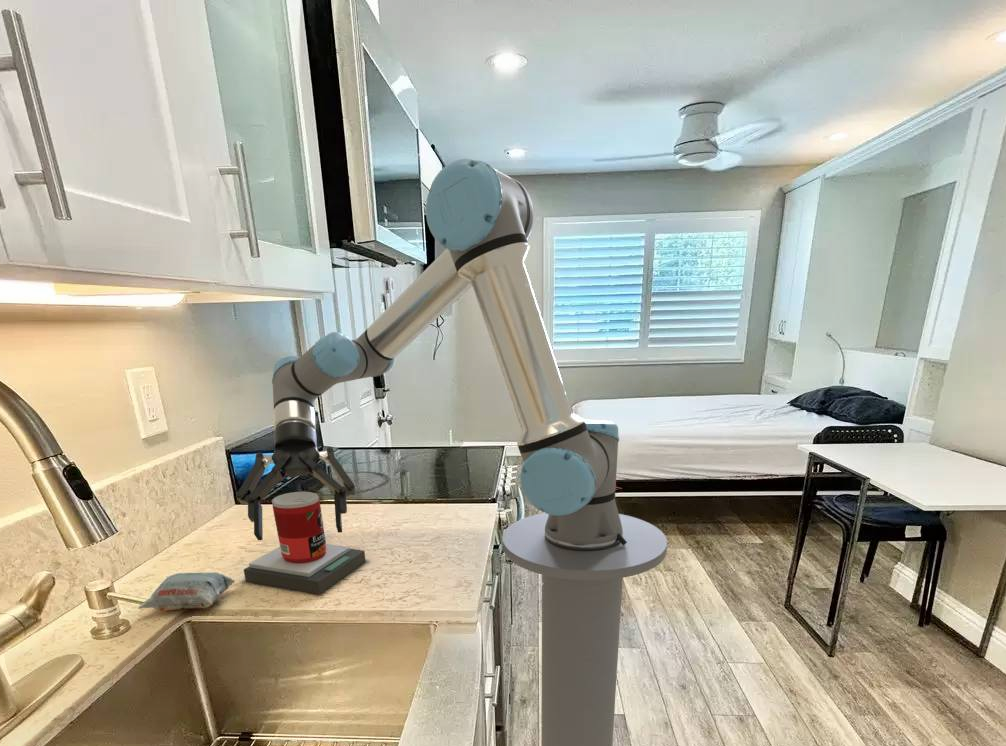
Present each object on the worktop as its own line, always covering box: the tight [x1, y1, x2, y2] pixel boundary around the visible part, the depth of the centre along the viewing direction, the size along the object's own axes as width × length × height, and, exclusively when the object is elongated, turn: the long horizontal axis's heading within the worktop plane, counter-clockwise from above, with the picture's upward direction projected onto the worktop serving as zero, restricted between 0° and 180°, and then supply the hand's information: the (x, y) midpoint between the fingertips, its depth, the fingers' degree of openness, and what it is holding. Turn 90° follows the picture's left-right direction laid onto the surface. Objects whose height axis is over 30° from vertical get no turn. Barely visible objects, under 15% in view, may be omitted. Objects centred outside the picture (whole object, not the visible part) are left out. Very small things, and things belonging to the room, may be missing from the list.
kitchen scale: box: [243, 543, 367, 595], centre depth 104 cm, size 16×14×3 cm
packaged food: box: [137, 571, 235, 611], centre depth 93 cm, size 9×12×5 cm
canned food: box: [271, 491, 327, 563], centre depth 102 cm, size 8×8×11 cm
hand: (299, 533), depth 100 cm, fingers open, 13 cm apart
